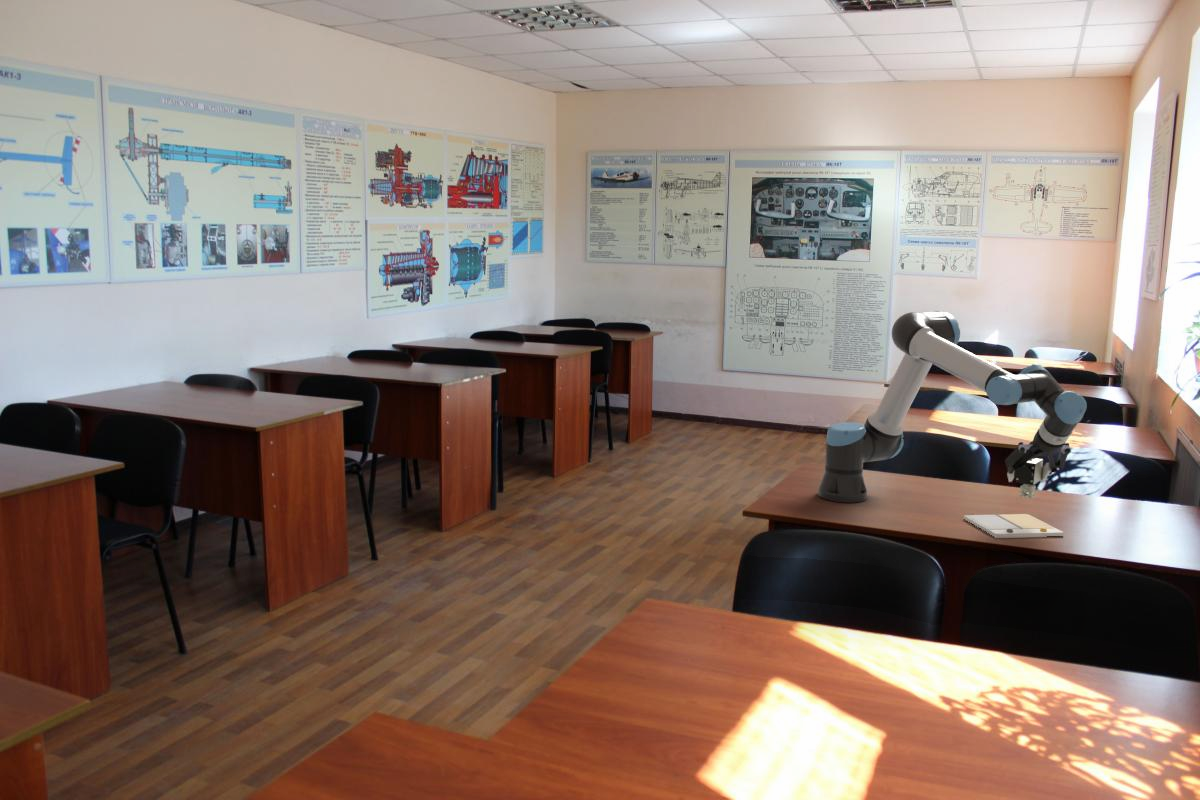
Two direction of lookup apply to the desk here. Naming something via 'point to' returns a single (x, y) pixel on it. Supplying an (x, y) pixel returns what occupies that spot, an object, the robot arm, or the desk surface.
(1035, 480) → the pneumatic valve
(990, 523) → the board
